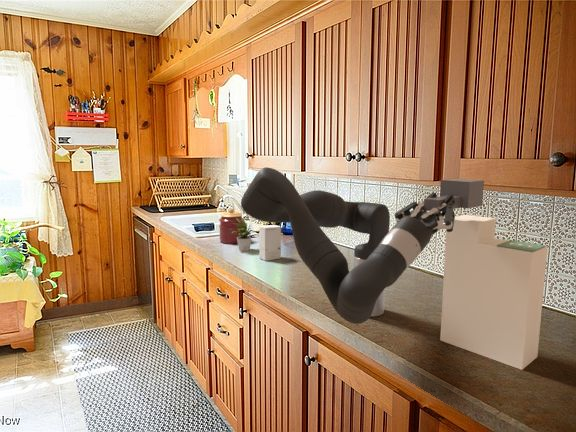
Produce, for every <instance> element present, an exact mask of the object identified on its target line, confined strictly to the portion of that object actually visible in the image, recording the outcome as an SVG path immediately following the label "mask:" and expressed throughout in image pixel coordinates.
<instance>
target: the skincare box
mask: <svg viewBox="0 0 576 432" xmlns="http://www.w3.org/2000/svg"><path fill="white" fill-rule="evenodd" d="M258 229H259V230H258V232H259V235H258V236H259V239H258V240H259V241H258V243H259V249H258V250H259V252H258V253H259V259H261V260H263V261H265V262H267V261H273V260H279V259H281V258H282V257H281V256H282V253H281V252H282V249H281V248H282V243H281V242H282V240H281V239H282V238H281V237H282V233H281V232H282V228H281V226H280V225H276V224H270V225H269V224H268V225H260V226H259V228H258Z"/></svg>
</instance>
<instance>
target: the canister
mask: <svg viewBox="0 0 576 432" xmlns="http://www.w3.org/2000/svg"><path fill="white" fill-rule="evenodd" d="M242 216H243V214H242V213H240V212H239V211H235V210H234V208H229V209H228V211H225V212H222V214H220V217H221V218H219V219H218V221H219V227H218V228H219V243H223V244H228V245H229V244H238V241H237V237H240V236H241V235H239V233H240V232H239V230H237V229H239V227H238V226H237V225H236V224H238V225H239V222H238V220H239V221H240V224H241V219H243V220H244V221H245V219H244V218H243V217H242ZM236 218H237V219H238V220H237V219H236ZM232 221H233V222H232ZM234 222H235V223H236V224H235V223H234ZM233 223H234V224H233ZM241 226H242V225H241ZM237 227H238V228H237ZM233 230H234V231H238V232H233ZM232 232H233V233H232Z"/></svg>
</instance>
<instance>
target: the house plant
mask: <svg viewBox="0 0 576 432" xmlns="http://www.w3.org/2000/svg"><path fill="white" fill-rule="evenodd" d="M236 219H237V218H236ZM243 219H244V218H243ZM243 219H241V224H240V221H239V220H238V219H237V220H238V222H239V225H238V224H236V223H235V222H234V223H235V224H236V225H237V226H238V227H239V229H237V230H239V232H240V233H239V235H241V236H240V237H237V241H238V243H237V246H238V250H239V252H249V251H250V250H251V242H252V236H251V235H250V234H253V233H254V229H252V226H253V224H254V223H255V222H254V223H253V221H254V220H252V222H251V223H250V224H249V226H248V223H247V222H246V219H247V217H245V219H244V220H243ZM232 222H233V221H232ZM234 223H233V224H234ZM241 225H242V226H241ZM238 227H237V228H238ZM233 232H238V231H234V230H233ZM233 232H232V233H233Z"/></svg>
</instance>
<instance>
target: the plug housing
mask: <svg viewBox="0 0 576 432" xmlns="http://www.w3.org/2000/svg"><path fill="white" fill-rule="evenodd" d="M484 184H485V180H484V179H467V178H450V179H440V186H439V187H440V188H439V196H437V197H433V198H427V197H426V198H423V201H424V210H428V211H427V212H429V211H430V210H431V209H433V208H434V207H435V208H437V207H438V206H439V205H441V204H442V202H443V201H444V200H445V198H446V197H447V196H448V195H449V194H452V195H453V197H454V199H455V204H454V205H453V210H456V209H472V208H473V209H474V208H477V207H483V201H484V199H483V198H484Z"/></svg>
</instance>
